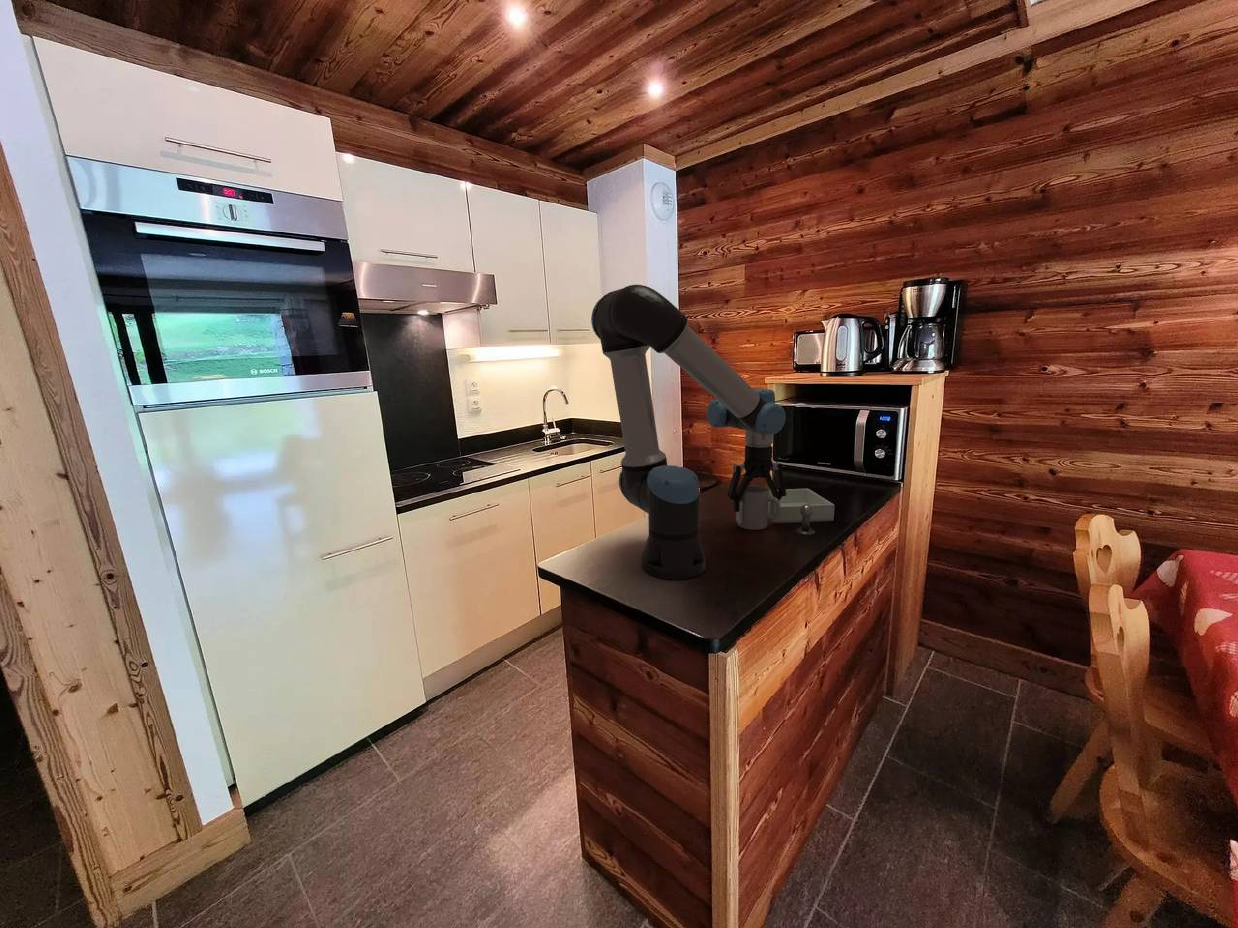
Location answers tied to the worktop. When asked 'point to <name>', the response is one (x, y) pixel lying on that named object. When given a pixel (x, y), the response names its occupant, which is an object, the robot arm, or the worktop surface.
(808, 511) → the stud post
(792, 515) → the bin
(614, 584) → the worktop surface
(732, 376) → the robot arm
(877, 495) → the worktop surface
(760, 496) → the mug
